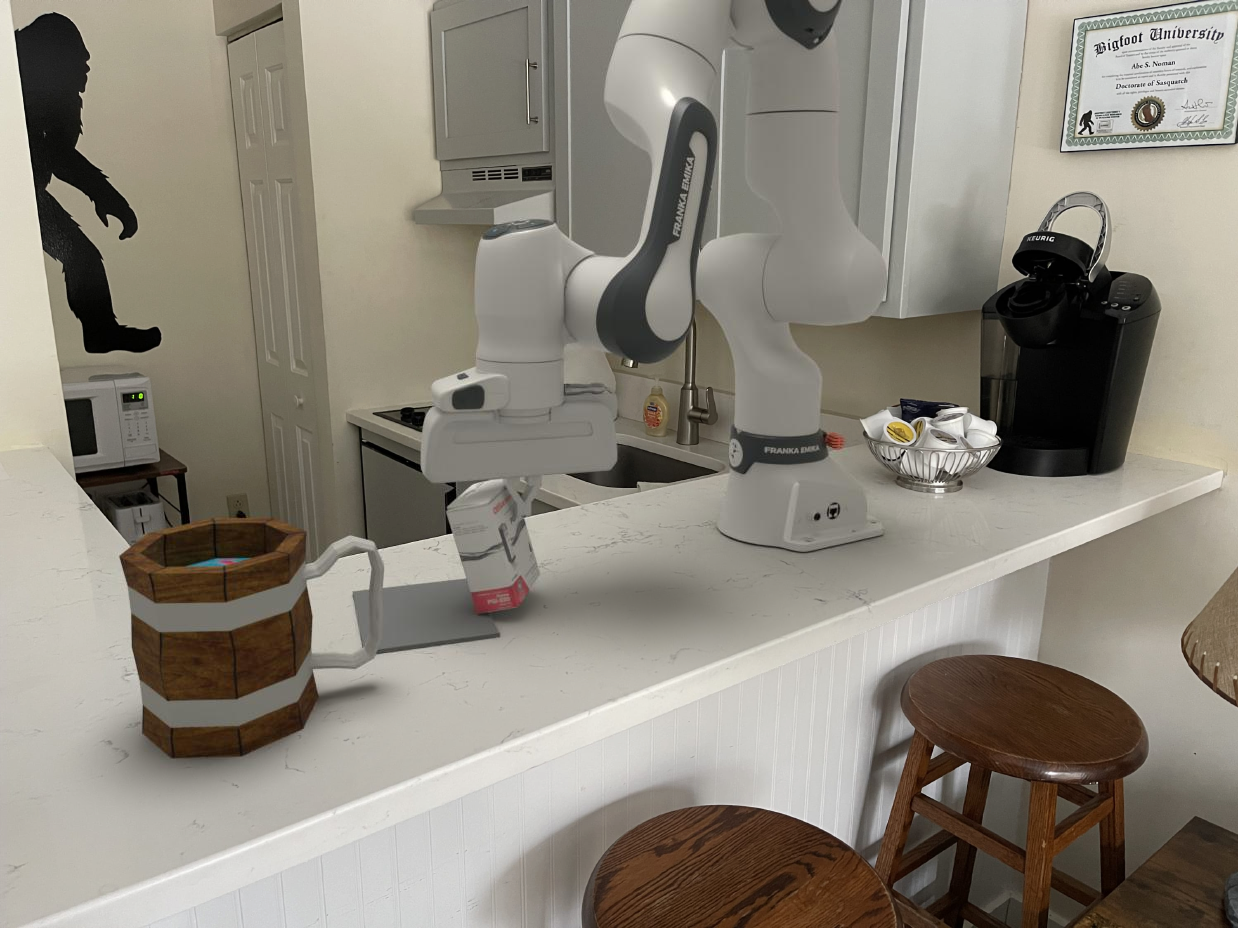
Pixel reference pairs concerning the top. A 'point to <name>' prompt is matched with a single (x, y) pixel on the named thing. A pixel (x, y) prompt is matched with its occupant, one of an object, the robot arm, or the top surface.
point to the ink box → (493, 546)
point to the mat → (425, 616)
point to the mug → (232, 632)
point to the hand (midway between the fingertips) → (521, 516)
